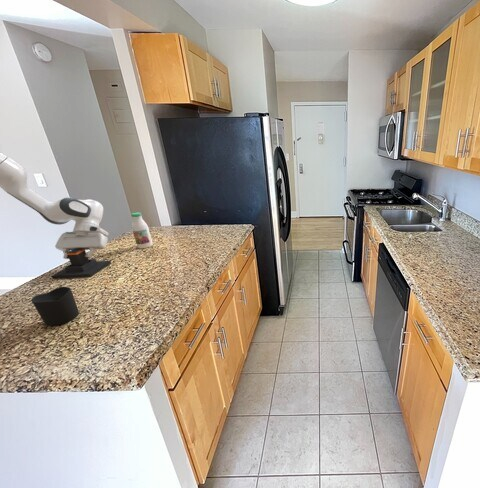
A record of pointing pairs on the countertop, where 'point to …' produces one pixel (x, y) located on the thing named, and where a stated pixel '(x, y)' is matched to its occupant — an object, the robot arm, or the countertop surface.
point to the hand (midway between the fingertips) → (77, 258)
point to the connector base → (82, 269)
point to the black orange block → (77, 257)
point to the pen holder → (56, 306)
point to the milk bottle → (141, 231)
